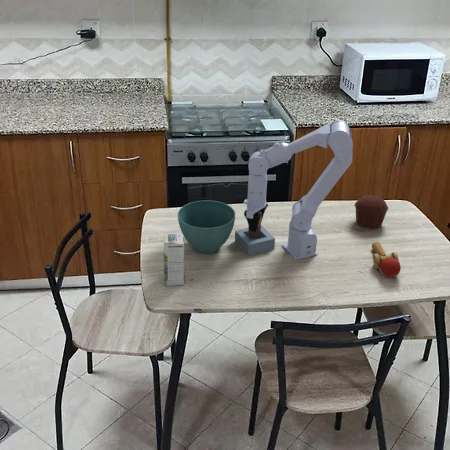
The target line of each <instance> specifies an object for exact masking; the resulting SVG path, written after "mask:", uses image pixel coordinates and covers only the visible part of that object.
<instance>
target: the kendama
mask: <svg viewBox="0 0 450 450" xmlns="http://www.w3.org/2000/svg"><path fill="white" fill-rule="evenodd" d="M371 248H372V250H373V251H374V252H375V253H374V254H373V256H372V261H373V265H374V268H375V270H380V273H381V274H382V275H383V276H385V277H387V278H395V277H396V276H398V275H399V274H400V273H401V270H402V269H401V268H402V266H401V264H400V263H401V262H400V261H399V256H398V254H397V252H394V251H393V252H391V253H390V254H389V255H386V252H385V250H384V247H382V245H381V242H379V241H373V242H372V244H371Z"/></svg>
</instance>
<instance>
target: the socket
mask: <svg viewBox="0 0 450 450" xmlns="http://www.w3.org/2000/svg"><path fill="white" fill-rule="evenodd" d="M234 242H235V243H236V244H237V246H239V248H240V249H241V250H242V251H243V252H244V253H245V254H246V255H247V256H252V255H256V254H260V253H264V252H265V253H266V252H268V251H272V250H275V245H276V238H275V237H274V236H273V235H272V234H271V233H270V232H269V230H267V229H266V228H265V227H263V225H261V235H260V236H259V237H250V236H249V235H248V227H245V228H241V229H238V230H237V229H236V230H235V231H234Z"/></svg>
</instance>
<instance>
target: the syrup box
mask: <svg viewBox="0 0 450 450" xmlns="http://www.w3.org/2000/svg"><path fill="white" fill-rule="evenodd" d="M163 235H164V236H163V269H164V270H163V275H164V286H166V287H167V286H170V287H171V286H184V284H185V242H184V241H185V237H184V236H183V234H182V233H165V234H163Z"/></svg>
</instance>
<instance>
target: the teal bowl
mask: <svg viewBox="0 0 450 450" xmlns="http://www.w3.org/2000/svg"><path fill="white" fill-rule="evenodd" d="M177 221H178V225H179V228H180V232H181V234H183V237H184V240H185V241H186V242H187V244H189V245H190V246H191V247H192V248H193V249H194V250H195V251H197V252H199V253H202V254H210V253H211V254H212V253H215V252H217V251H218V250H219V249H221V247H223V245H224V244H225V243H227V242H228V241H227V240H228V239H229V237H230V236H231V234H232V231H233V228H234V226H235V221H236V211H235V209H234V208H233V207H232V206H230V205H229V204H227V203H225V202H221V201H217V200H205V199H204V200H197V201H192V202H189V203H187V204H185V205H183V206H181V207H180V208H179V210H178V212H177Z"/></svg>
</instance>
